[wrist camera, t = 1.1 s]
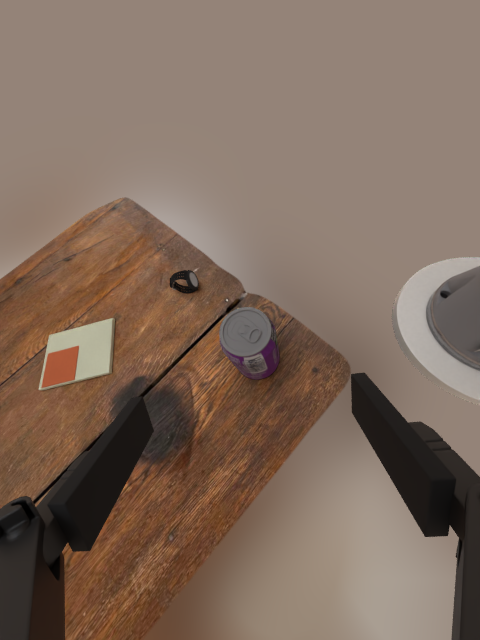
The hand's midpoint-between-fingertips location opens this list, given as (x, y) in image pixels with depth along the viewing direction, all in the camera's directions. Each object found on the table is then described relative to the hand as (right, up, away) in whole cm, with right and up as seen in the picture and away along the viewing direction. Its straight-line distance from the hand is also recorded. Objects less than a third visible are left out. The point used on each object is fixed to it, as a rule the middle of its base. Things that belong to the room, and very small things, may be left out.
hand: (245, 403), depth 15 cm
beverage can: (+3, -1, +24) cm, 24 cm away
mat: (-31, -1, +30) cm, 43 cm away
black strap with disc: (-10, +11, +32) cm, 36 cm away
